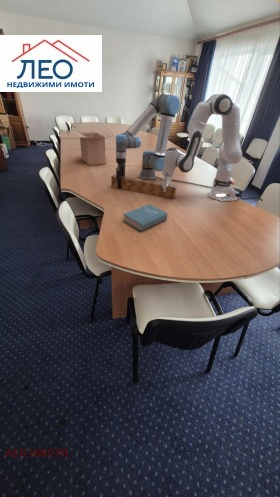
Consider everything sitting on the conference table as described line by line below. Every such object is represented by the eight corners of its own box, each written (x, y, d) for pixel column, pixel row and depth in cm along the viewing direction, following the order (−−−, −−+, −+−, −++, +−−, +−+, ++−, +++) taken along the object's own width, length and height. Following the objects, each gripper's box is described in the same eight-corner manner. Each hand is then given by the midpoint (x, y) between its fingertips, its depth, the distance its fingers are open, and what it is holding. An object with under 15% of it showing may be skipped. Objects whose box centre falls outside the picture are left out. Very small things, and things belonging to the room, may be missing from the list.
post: (111, 187, 181) (111, 176, 176) (113, 184, 185) (113, 174, 180) (173, 198, 170) (175, 187, 165) (175, 196, 174) (177, 185, 169)
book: (148, 210, 150) (149, 204, 147) (166, 220, 141) (167, 213, 138) (123, 221, 137) (123, 213, 134) (141, 231, 128) (142, 224, 125)
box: (116, 165, 229) (116, 136, 213) (83, 168, 214) (80, 137, 198) (102, 154, 259) (101, 128, 243) (71, 156, 244) (68, 129, 228)
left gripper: (120, 161, 160) (120, 191, 173) (129, 155, 174) (128, 184, 188) (111, 159, 161) (111, 189, 175) (120, 154, 176) (120, 182, 189)
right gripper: (169, 176, 154) (166, 195, 162) (175, 168, 169) (172, 186, 178) (161, 175, 155) (158, 193, 163) (167, 167, 171) (164, 184, 179)
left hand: (120, 186), depth 181 cm, fingers closed on post, 5 cm apart
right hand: (165, 189), depth 171 cm, fingers open, 8 cm apart
